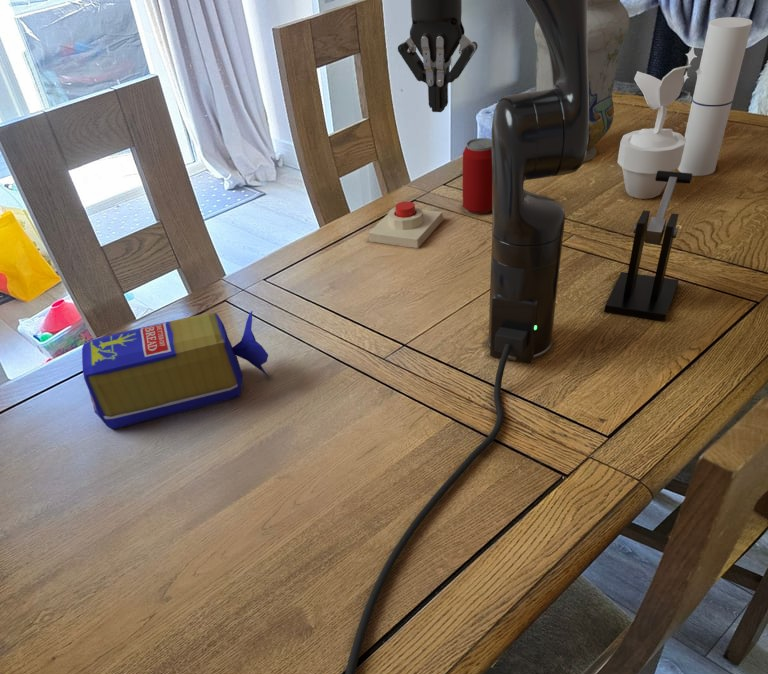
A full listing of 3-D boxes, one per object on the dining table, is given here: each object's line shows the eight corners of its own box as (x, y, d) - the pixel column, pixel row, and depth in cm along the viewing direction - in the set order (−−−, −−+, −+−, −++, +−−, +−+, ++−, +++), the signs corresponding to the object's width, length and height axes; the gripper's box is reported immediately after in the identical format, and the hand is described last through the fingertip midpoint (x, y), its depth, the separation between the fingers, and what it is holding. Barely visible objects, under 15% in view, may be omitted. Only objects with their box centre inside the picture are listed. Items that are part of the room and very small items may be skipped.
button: (410, 220, 129) (409, 210, 127) (392, 217, 130) (392, 208, 129) (418, 211, 131) (417, 202, 129) (400, 209, 132) (400, 200, 131)
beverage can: (496, 200, 139) (499, 135, 130) (497, 215, 134) (499, 149, 125) (462, 201, 140) (463, 137, 131) (462, 216, 135) (462, 150, 126)
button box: (417, 248, 127) (417, 229, 125) (369, 241, 131) (367, 223, 128) (442, 220, 134) (442, 202, 132) (396, 214, 138) (394, 196, 135)
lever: (656, 179, 107) (658, 165, 105) (690, 182, 105) (693, 168, 103) (634, 241, 103) (636, 229, 101) (669, 246, 101) (672, 233, 99)
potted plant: (687, 196, 133) (723, 43, 115) (636, 210, 131) (664, 56, 113) (646, 175, 141) (674, 29, 123) (597, 188, 139) (618, 40, 121)
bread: (100, 397, 103) (72, 336, 95) (264, 357, 106) (249, 295, 99) (102, 438, 96) (72, 375, 88) (277, 393, 100) (262, 330, 92)
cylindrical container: (677, 175, 140) (709, 27, 122) (677, 161, 145) (708, 17, 127) (715, 176, 138) (753, 26, 120) (714, 162, 143) (751, 16, 125)
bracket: (620, 278, 114) (634, 199, 105) (677, 286, 111) (697, 206, 102) (604, 312, 108) (617, 231, 98) (664, 321, 104) (684, 239, 95)
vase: (622, 145, 153) (648, -24, 132) (592, 175, 144) (616, -3, 122) (545, 135, 161) (558, -26, 139) (512, 163, 151) (521, -6, 129)
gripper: (383, -16, 101) (392, 116, 113) (469, -17, 96) (469, 120, 109) (404, -26, 106) (410, 102, 118) (487, -28, 101) (484, 105, 113)
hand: (438, 110), depth 113 cm, fingers closed
